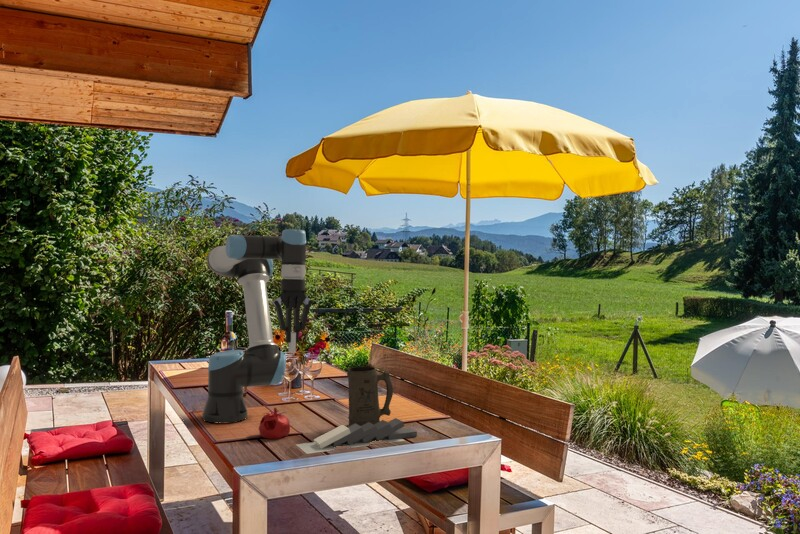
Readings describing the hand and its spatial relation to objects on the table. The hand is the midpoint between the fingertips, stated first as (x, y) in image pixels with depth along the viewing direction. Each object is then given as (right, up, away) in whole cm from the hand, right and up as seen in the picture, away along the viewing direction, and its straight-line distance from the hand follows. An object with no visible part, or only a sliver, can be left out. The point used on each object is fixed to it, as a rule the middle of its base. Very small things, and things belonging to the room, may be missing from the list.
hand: (292, 352), depth 197 cm
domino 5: (+26, -26, -4) cm, 37 cm away
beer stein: (+24, -27, +12) cm, 38 cm away
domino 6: (+30, -26, -2) cm, 39 cm away
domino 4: (+22, -26, -6) cm, 34 cm away
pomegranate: (-5, -27, -1) cm, 27 cm away
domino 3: (+18, -26, -8) cm, 32 cm away
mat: (+19, -27, -7) cm, 34 cm away
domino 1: (+10, -26, -13) cm, 30 cm away
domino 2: (+14, -26, -11) cm, 31 cm away
